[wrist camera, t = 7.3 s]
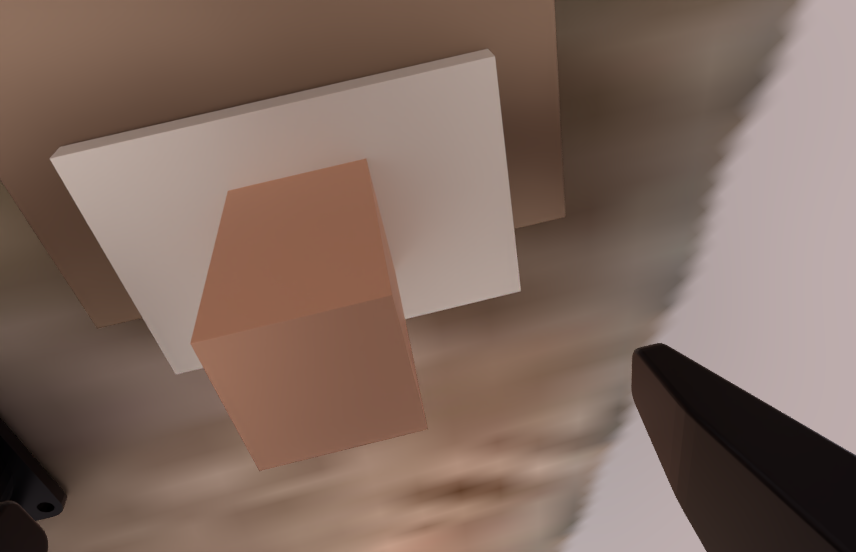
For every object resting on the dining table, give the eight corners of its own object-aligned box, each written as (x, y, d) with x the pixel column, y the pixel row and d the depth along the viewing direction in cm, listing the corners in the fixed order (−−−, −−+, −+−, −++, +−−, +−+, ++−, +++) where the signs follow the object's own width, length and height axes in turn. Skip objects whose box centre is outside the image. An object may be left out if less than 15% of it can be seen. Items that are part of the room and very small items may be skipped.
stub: (514, 277, 16) (595, 442, 12) (179, 359, 16) (127, 559, 11) (487, 48, 13) (588, 154, 8) (59, 146, 12) (-85, 313, 8)
